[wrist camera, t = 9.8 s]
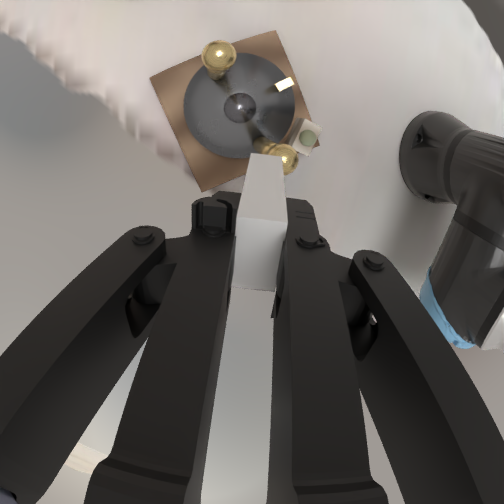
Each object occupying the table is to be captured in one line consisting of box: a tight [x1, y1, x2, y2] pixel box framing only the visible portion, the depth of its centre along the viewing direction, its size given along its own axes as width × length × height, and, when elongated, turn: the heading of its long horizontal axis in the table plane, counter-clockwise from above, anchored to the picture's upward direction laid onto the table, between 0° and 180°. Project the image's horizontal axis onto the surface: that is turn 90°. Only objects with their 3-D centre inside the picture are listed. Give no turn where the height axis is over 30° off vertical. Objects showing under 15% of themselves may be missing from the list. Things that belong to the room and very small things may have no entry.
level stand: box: [150, 30, 323, 192], centre depth 32 cm, size 17×17×6 cm
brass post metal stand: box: [183, 40, 299, 175], centre depth 27 cm, size 13×13×14 cm
